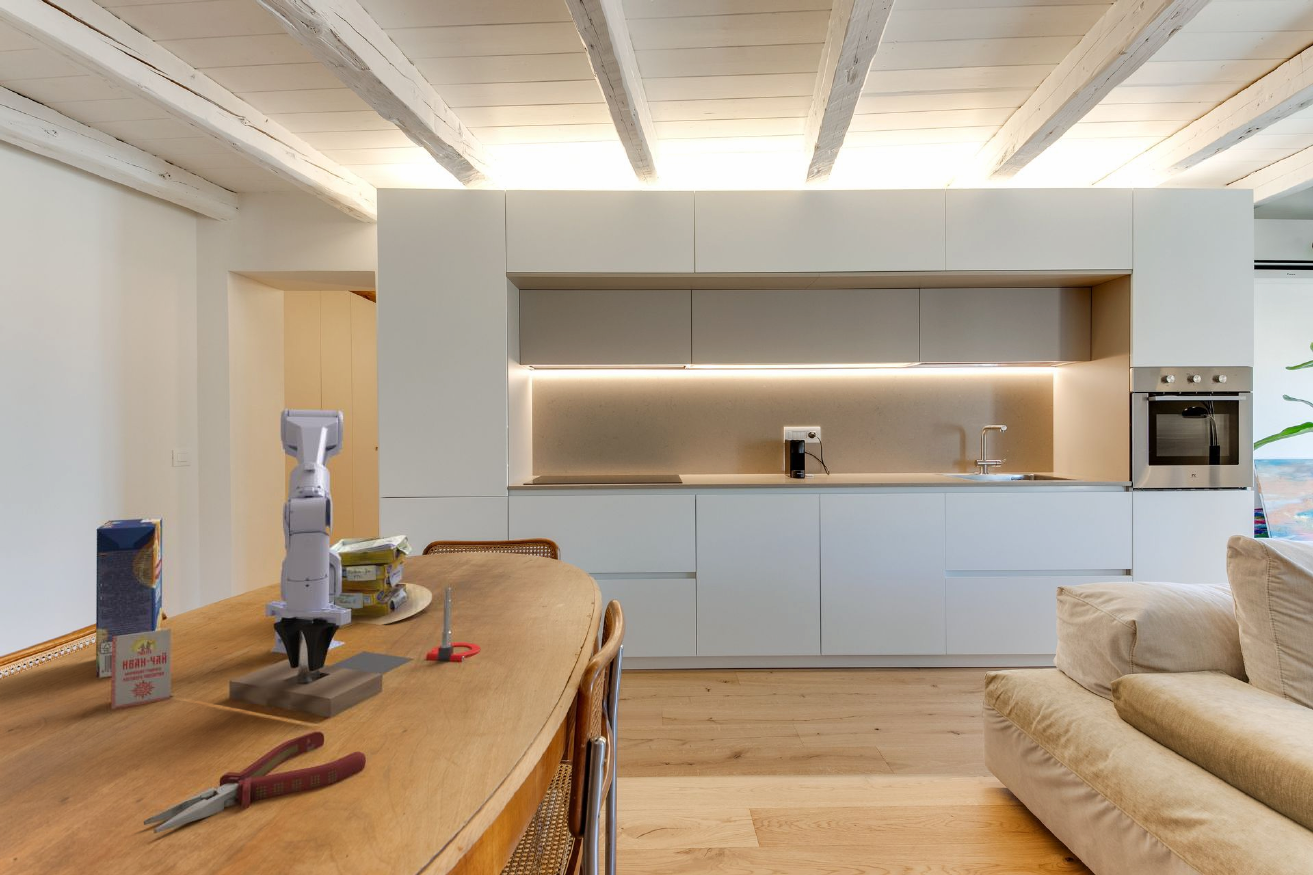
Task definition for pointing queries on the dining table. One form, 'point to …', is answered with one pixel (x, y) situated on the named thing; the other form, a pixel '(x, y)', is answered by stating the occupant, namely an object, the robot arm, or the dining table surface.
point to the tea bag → (140, 668)
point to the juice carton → (127, 583)
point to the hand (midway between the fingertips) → (307, 667)
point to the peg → (305, 664)
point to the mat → (372, 662)
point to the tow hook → (446, 649)
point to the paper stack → (377, 581)
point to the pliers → (262, 782)
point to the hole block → (306, 689)
